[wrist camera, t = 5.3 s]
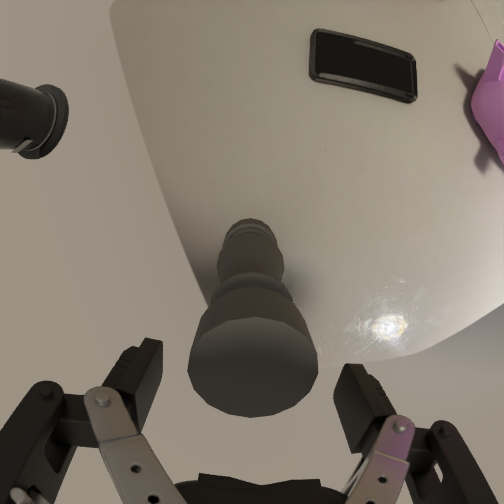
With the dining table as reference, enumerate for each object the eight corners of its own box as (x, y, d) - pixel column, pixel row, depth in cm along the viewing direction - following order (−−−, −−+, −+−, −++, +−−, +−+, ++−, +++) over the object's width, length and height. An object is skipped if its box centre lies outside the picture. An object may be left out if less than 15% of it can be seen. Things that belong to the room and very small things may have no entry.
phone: (417, 103, 30) (310, 77, 30) (413, 105, 31) (308, 79, 31) (415, 54, 28) (312, 26, 28) (411, 57, 29) (310, 29, 29)
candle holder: (235, 274, 37) (217, 431, 13) (217, 229, 35) (156, 336, 11) (282, 257, 36) (336, 398, 12) (265, 211, 35) (302, 288, 11)
